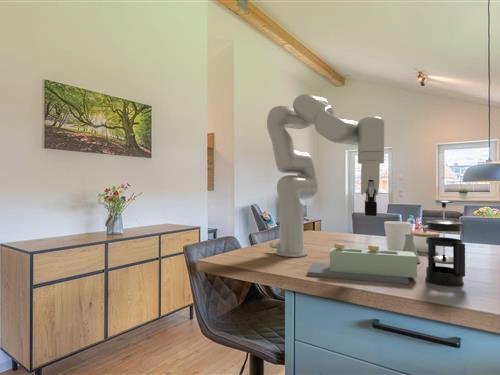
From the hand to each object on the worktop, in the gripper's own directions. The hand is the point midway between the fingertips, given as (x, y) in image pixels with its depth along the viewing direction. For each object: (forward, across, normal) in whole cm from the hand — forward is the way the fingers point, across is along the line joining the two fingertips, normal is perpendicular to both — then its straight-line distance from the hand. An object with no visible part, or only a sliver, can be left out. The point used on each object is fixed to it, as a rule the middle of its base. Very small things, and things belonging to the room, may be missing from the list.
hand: (370, 214), depth 101 cm
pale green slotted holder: (+17, +1, 0) cm, 17 cm away
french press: (+18, +2, +20) cm, 27 cm away
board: (+19, +1, -4) cm, 19 cm away
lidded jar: (+19, -47, +23) cm, 56 cm away
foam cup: (+19, -33, +11) cm, 40 cm away
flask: (+19, -23, +14) cm, 33 cm away
